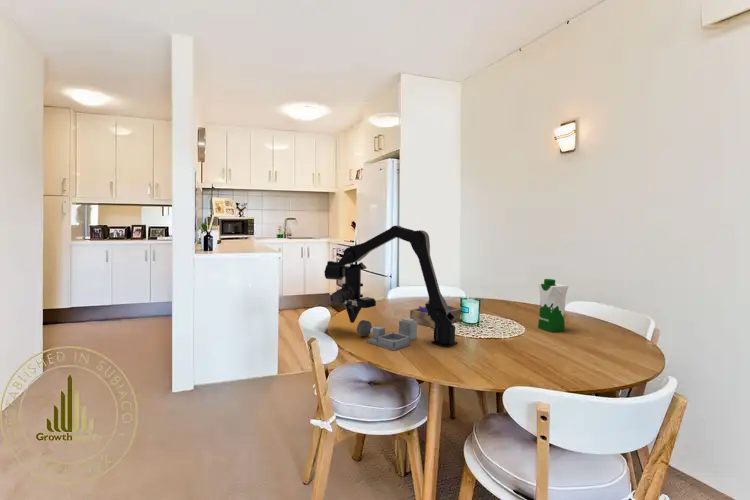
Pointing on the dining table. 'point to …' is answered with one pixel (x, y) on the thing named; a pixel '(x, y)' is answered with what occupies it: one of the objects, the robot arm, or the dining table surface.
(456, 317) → the toy corral
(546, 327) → the milk carton
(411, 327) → the block
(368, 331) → the wheel
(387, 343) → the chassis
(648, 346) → the dining table surface
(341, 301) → the robot arm
